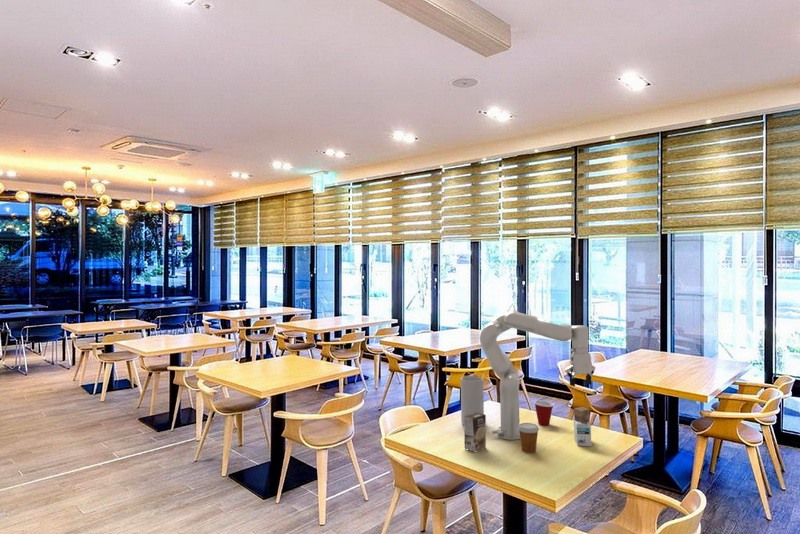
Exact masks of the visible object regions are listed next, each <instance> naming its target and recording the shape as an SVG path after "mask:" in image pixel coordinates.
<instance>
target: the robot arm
mask: <svg viewBox="0 0 800 534" xmlns="http://www.w3.org/2000/svg"><path fill="white" fill-rule="evenodd" d="M510 329H515V330H519V331H523V332H528V333H530V334H531V333H532V334H534V335H538V336H542V337H544V338H549V339H551V340H556V341H558V342H568V341H570V340H571V341H572V342H571V344H572V347H571V348H570V352H571V354H570V359H569V366H567V367H566V368H565V369H564V370H565V374H566V375H567V376H568V378H569V385H570V386H571V387H575V386H576V378H575V377H576V375H585V384H587V385H590V386H591V385H592V377H593V374H594V373H595V371H596V366H594V365H593V363H592V358H591V353H590V352H589V327H588V326H587V325H581V324H578V325H572V324H566V323H565V324H557V323H556V324H555V323H553V322H549V321H546V320H544V319H543V318H541V317H538V316H535V315H530V314H526V313H522V312H519V311H518V310H515V309H511V310H509V311H507V312H505V313H503V314H501V315H499V316H498V317H496V318H494V319H492V320H490V321H488V322H487V323H486V324H485V326H484V327H483V329H482V330H481V332H480V335H479V343H480V347H481V348H482V350H483V352H484V355H485V357H486V359H487V361H488V363H489V365H490V368H491V369H492V371H493V372H494V373H495V374H497V375H498V377H499V379H500V381H499V399H500V400H499V404H500V407H499V408H500V426H498V428H497V429H492V431H491V432H492V435H494V434H495V435H496V434H497V437H498V438H500V439H502V438H503V440H509V441H516V440H520V432H519V429H518V427H519V424H520V383H521V382H520V376H519V374H518V372H517V370H516V368H515V367H514V365H513V362H512V361H511V359H510V357H509V356H508V355H507V354H505V353H504V352H503V350H502V348H501V347H500V344H499V343H498V341H497V338H498V337H499V336H500V335H501V334H503V333H505V332H506V331H508V330H510Z"/></svg>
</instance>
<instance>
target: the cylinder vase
mask: <svg viewBox="0 0 800 534" xmlns="http://www.w3.org/2000/svg"><path fill="white" fill-rule="evenodd" d="M484 394H485V393H484V377H480V376H471V375H470V376H462V377H460V410H461V412H460V413H461V414H460V417H461V418H460V419H461V421H460V422H461V424H462V425H464V416H466V415H469V414H473V413H480V414H484V415H485V413H484V411H485V410H484V409H485V404H484V403H485V402H484V401H485V400H484V398H485V397H484Z"/></svg>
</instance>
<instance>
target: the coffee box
mask: <svg viewBox="0 0 800 534" xmlns="http://www.w3.org/2000/svg"><path fill="white" fill-rule="evenodd" d="M486 417H487V416H486V414H485V413H484V414H480V413H473V414H469V415H466V416H464V424H463V425H464V438H463V439H464V444H463V445H464V448H465V449H468V450H470V451H469V452H472V451H473V452H472V453H476V452H475V451H477V452H479V451H481V450H480V449H482V448H484V449H486V448H485V447H487V443H486V442H487V441H486V440H487V439H486V438H487V435H486V434H487V429H486V428H487V425H486V424H487V421H486V420H487V419H486ZM465 449H464V450H465ZM468 450H467V451H468ZM478 450H479V451H478ZM482 450H483V449H482Z"/></svg>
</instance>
